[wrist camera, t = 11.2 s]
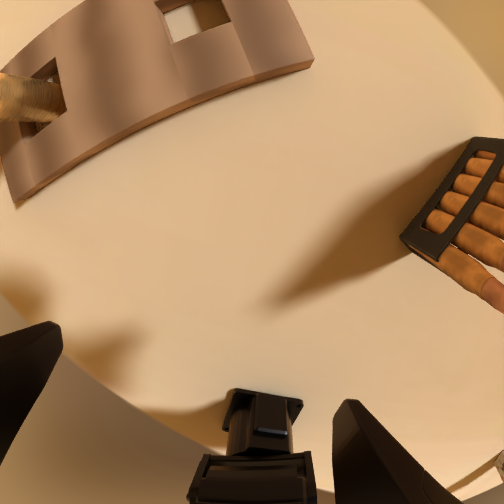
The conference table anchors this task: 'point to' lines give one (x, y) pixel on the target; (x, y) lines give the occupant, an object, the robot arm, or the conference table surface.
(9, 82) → the brass peg
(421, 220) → the ammunition clip
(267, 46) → the block
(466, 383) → the conference table surface
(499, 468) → the coffee box
